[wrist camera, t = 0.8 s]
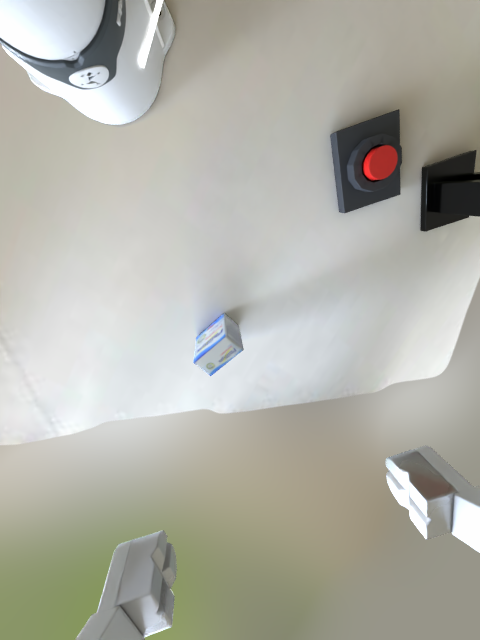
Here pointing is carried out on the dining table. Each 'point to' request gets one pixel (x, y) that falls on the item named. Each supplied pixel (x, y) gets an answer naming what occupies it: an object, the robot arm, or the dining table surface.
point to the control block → (351, 154)
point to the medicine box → (217, 345)
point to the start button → (380, 162)
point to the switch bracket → (449, 191)
